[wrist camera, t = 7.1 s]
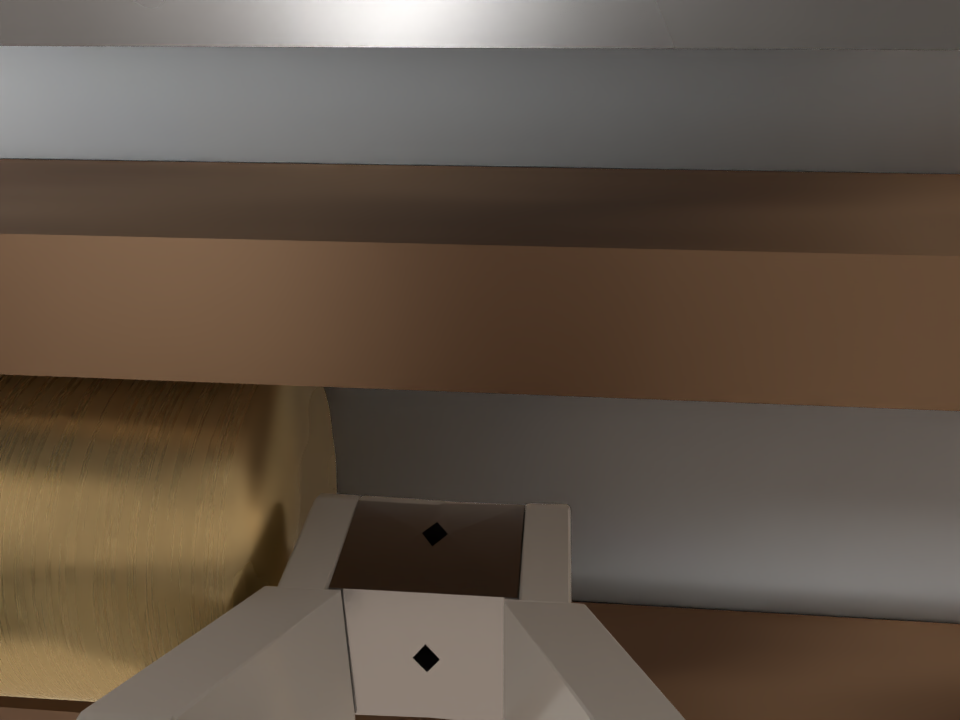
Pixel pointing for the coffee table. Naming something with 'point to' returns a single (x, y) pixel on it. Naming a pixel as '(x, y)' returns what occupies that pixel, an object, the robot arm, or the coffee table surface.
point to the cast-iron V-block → (487, 23)
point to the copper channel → (525, 335)
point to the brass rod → (142, 517)
